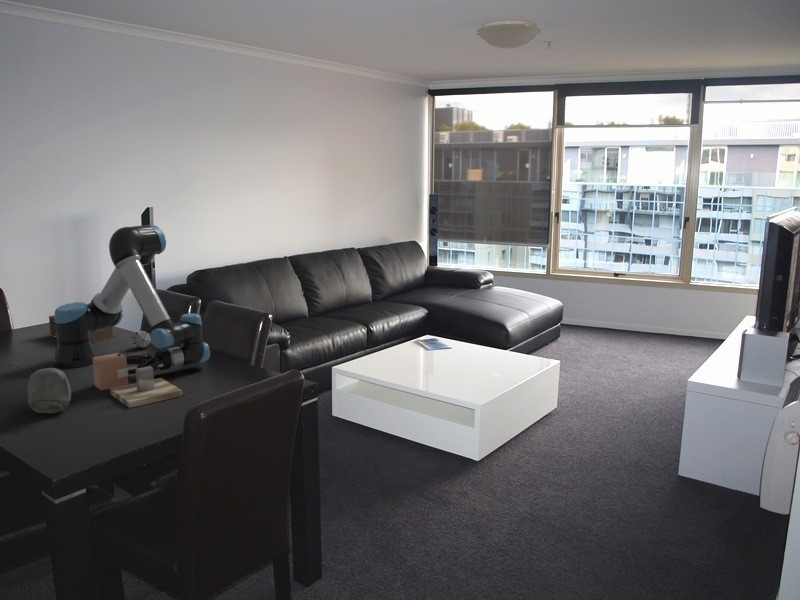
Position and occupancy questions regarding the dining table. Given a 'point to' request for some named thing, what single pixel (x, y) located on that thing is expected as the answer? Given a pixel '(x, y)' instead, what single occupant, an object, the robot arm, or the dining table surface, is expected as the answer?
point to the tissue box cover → (93, 336)
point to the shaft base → (145, 395)
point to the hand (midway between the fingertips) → (110, 369)
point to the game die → (142, 339)
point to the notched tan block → (109, 371)
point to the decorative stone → (48, 391)
